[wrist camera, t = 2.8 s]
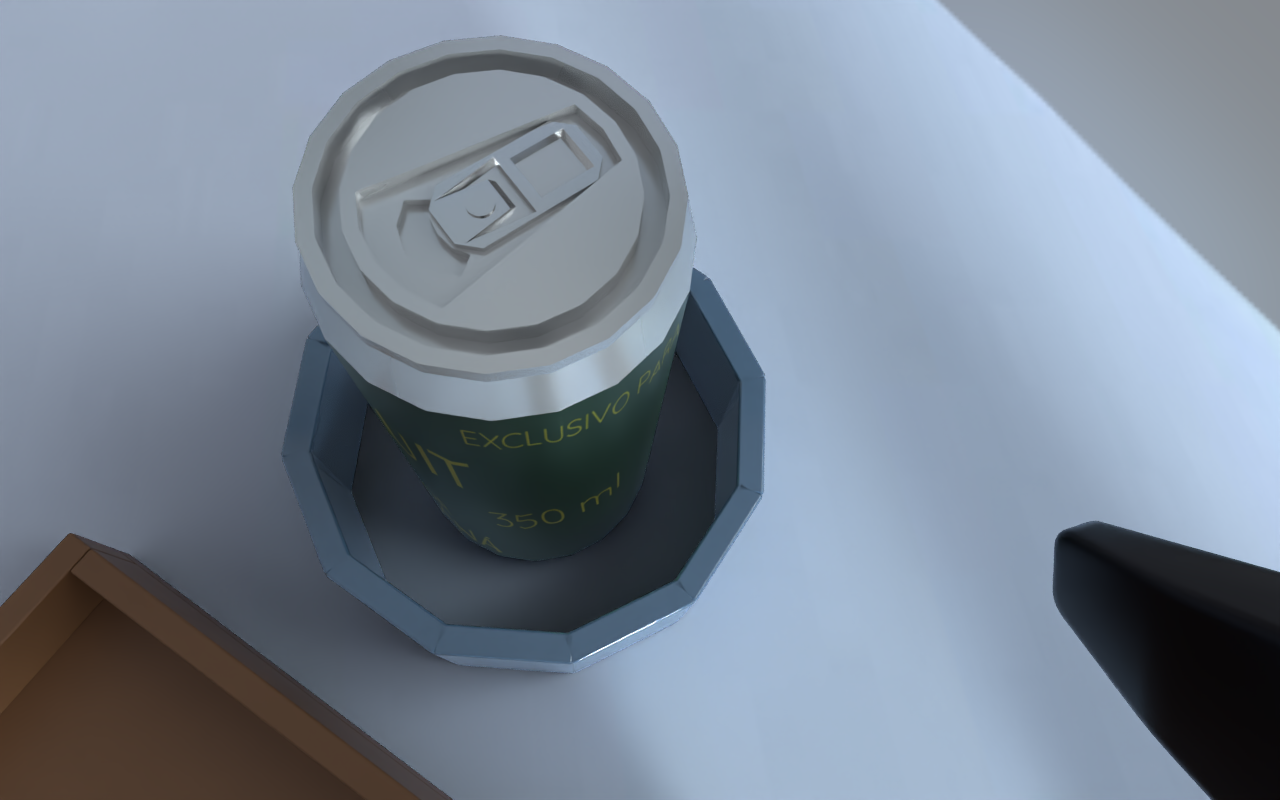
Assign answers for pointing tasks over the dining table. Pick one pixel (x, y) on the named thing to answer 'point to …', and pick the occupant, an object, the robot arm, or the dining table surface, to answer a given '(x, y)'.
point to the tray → (162, 700)
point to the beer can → (502, 279)
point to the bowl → (323, 486)
